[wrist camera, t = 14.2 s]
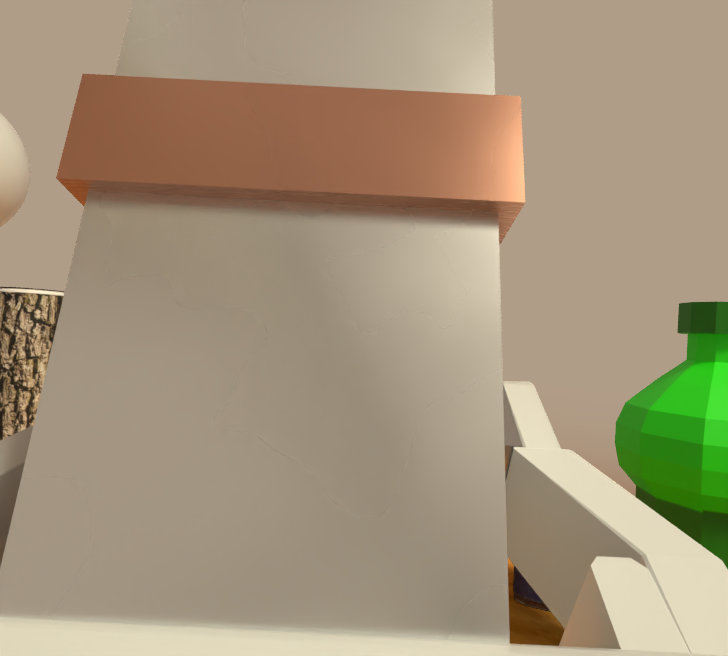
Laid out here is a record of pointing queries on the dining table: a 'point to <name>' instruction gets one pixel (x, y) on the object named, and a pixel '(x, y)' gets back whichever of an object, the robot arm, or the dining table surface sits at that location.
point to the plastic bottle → (685, 433)
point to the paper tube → (24, 352)
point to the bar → (280, 329)
